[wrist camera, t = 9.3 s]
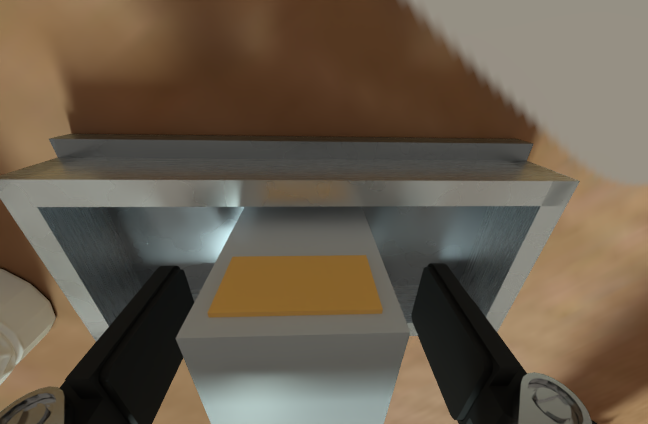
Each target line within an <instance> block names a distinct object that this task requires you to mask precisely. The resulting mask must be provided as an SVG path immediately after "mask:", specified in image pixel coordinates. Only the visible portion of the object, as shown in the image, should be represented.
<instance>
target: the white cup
mask: <svg viewBox="0 0 648 424" xmlns="http://www.w3.org/2000/svg"><path fill="white" fill-rule="evenodd" d="M55 319H56V317H55V314H54V311H53V309H52V306H51V303H50V301H49V300H48V299H47V298H46V297H45V296H44V295H42V294H41V293H40V292H39V291H38V290H37V289H36V288H35V287H34V286H33V285H32V284H30V283H28V282H27V281H25V280H23V279H21V278H19V277H17V276H15V275H13V274H11V273H9V272H7V271H5V270H3V269H1V268H0V385H1V384H2V383H3V382H4V380H5V379H6V378H7V377H8V376H9V375H10V373H11V372H12V371H13V369H14V368H15V365H17V364H18V363H19V362H20V361H21V360H22V359H23V358H24V357H25V356H26V355H27V354H28V353H29V352H30V351H31V350H32V349H33V348H34V347H35V346H36V345H37V344H38V343H39V342H40V341H41V340H42V339H43V338H44V337H45V335H46V334H47V333H48V332H49V331H50V329H51V327H52V325H53V323H54V321H55Z"/></svg>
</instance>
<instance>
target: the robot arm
mask: <svg viewBox="0 0 648 424" xmlns="http://www.w3.org/2000/svg"><path fill="white" fill-rule="evenodd" d="M193 304H194V300H193V297H192V294H191V290H190V287H189V284H188V281H187V278H186V275H185V272H184V270H182V269H180V267H179V266H160V267H158V268H157V270H156V271H155V272H154V273H153V274H152V276H151V277H150V278H149V279H148V280H147V282H146V283H145V284H144V285H143V286H142V288H141V289H140V290H139V291H138V292H137V294H136V295H135V296H134V297H133V298H132V300H131V301H130V302H129V303H128V304H127V306H126V307H125V308H124V309H123V310H122V312H121V313H120V314H119V315H118V316H117V318H116V319H115V320H114V321H113V322H112V324H111V325H110V326H109V327H108V328H107V330H106V331H105V332H104V333H103V334H102V336H101V337H100V338H99V339H98V340H97V342H96V343H95V344H94V345H93V346H92V348H91V349H90V350H89V351H88V352H87V354H86V355H85V356H84V357H83V358H82V360H81V361H80V362H79V363H78V364H77V366H76V367H75V368H74V369H73V370H72V372H71V373H70V374H69V375H68V376H67V378H66V379H65V380H66V381H65V382H64V383H63V384H62V386H61V387H60V388H58V387H45V388H41V389H38V390H35V391H33V392H30V393H28V394H26V395H24V396H23V397H21V398H19V399H18V400H16V401H14V402H13V403H11V404H10V405H9V406H7V407H6V408H5V409H4V410H2V411H1V412H0V424H152V423H153V420H154V418H155V416H156V414H157V412H158V410H159V408H160V406H161V403H162V401H163V399H164V397H165V395H166V393H167V391H168V389H169V387H170V384H171V382H172V380H173V378H174V376H175V374H176V372H177V370H178V367H179V365H180V363H181V361H182V359H183V355H182V353H181V350H180V348H179V346H178V343H177V341H176V339H175V338H176V337H177V335H178V333H179V331H180V329H181V327H182V325H183V323H184V321H185V319H186V317H187V316H188V314H189V312H190V310H191V308H192V306H193ZM411 317H412V322H413V325H414V327H415V330H416V332H417V334H418V337H419V339H420V342H421V344H422V347H423V349H424V352H425V354H426V356H427V359H428V361H429V364H430V366H431V369H432V371H433V374H434V376H435V378H436V381H437V383H438V386H439V388H440V391H441V393H442V395H443V398H444V400H445V403H446V405H447V408H448V410H449V412H450V415H451V416H452V418H453V419H454V420H457V421H458V423H459V424H597V423H595V422H594V421H592V420H591V418H590V415H589V412H588V411H587V409H586V408H585V406H584V405H583V403H582V402H581V401H580V400H579V398H578V397H577V396H576V395H575V394H574V393H573V392H572V391H571V390H569V389H568V388H567V387H566V386H565V385H563V384H562V383H560V382H558V381H557V380H555V379H553V378H551V377H549V376H546V375H544V374H539V373H528V374H527V373H526V372H525V370H524V369H523V367H522V366H521V365H520V363H519V362H518V361H517V359H516V358H515V357H514V355H513V354H512V352H511V351H510V350H509V348H508V347H507V346H506V344H505V343H504V341H503V340H502V339H501V337H500V336H499V335H498V333H497V332H496V330H495V329H494V328H493V326H492V325H491V324H490V322H489V321H488V319H487V318H486V317H485V315H484V314H483V313H482V311H481V310H480V309H479V307H478V306H477V304H476V303H475V302H474V301H473V300H472V299H471V297H470V296H469V295H468V293H467V292H466V291H465V289H464V288H463V286H462V285H461V284H460V282H459V281H458V280H457V278H456V277H455V275H454V274H453V273H452V271H451V270H450V268H449V267H448V266H447V265H446V264H445V263H430V264H428V266H427V267H425V268H424V269H423V272H422V276H421V280H420V284H419V287H418V291H417V295H416V298H415V302H414V306H413V309H412V314H411Z"/></svg>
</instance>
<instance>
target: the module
mask: <svg viewBox="0 0 648 424" xmlns="http://www.w3.org/2000/svg"><path fill="white" fill-rule="evenodd" d="M409 335H410V330H409V328H408V325H407V323H406V320H405V318H404V315H403V312H402V310H401V307H400V305H399V302H398V299H397V297H396V294H395V292H394V289H393V287H392V284H391V281H390V279H389V276H388V274H387V271H386V269H385V266H384V263H383V261H382V258H381V256H380V253H379V250H378V248H377V245H376V243H375V240H374V238H373V235H372V232H371V230H370V227H369V225H368V222H367V220H366V217H365V214H364V212H363V209H362V207H361V206H314V207H244V209H243V211H242V213H241V214H240V216H239V218H238V220H237V222H236V224H235V226H234V228H233V230H232V232H231V234H230V235H229V237H228V239H227V241H226V243H225V245H224V247H223V249H222V251H221V253H220V255H219V256H218V258H217V260H216V262H215V264H214V266H213V268H212V270H211V272H210V274H209V276H208V277H207V279H206V281H205V283H204V285H203V287H202V289H201V291H200V293H199V295H198V297H197V298H196V300H195V302H194V304H193V306H192V308H191V310H190V312H189V314H188V316H187V317H186V319H185V321H184V323H183V325H182V327H181V329H180V331H179V333H178V335H177V337H176V338H175V339H176V341H177V343H178V346H179V348H180V350H181V353H182V355H183V358H184V360H185V362H186V365H187V367H188V370H189V372H190V374H191V377H192V379H193V381H194V384H195V386H196V389H197V391H198V393H199V396H200V398H201V401H202V403H203V405H204V408H205V410H206V412H207V415H208V417H209V420H210V422H211V424H384V421H385V417H386V414H387V410H388V407H389V404H390V400H391V397H392V393H393V390H394V386H395V383H396V380H397V376H398V373H399V369H400V366H401V362H402V359H403V356H404V352H405V349H406V345H407V342H408V338H409Z"/></svg>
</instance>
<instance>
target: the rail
mask: <svg viewBox="0 0 648 424" xmlns="http://www.w3.org/2000/svg"><path fill="white" fill-rule="evenodd" d="M49 140H50V142H51V144H52V146H53V148H54V150H55V152H56V154H57V156H58V158H55V159H52V160H48V161H45V162H42V163H39V164H36V165H32V166H29V167H26V168H23V169H20V170H16V171H13V172H10V173H7V174H4V175H0V199H1V200H2V202H3V203H4V205H5V206H6V208H7V209H8V211H9V212H10V214H11V215H12V217H13V218H14V220H15V221H16V223H17V224H18V226H19V227H20V229H21V230H22V232H23V233H24V235H25V236H26V238H27V239H28V241H29V242H30V244H31V245H32V247H33V248H34V250H35V251H36V253H37V254H38V256H39V257H40V259H41V260H42V262H43V263H44V265H45V266H46V267H47V269H48V270H49V272H50V273H51V275H52V276H53V278H54V279H55V281H56V282H57V284H58V285H59V287H60V288H61V290H62V291H63V293H64V294H65V296H66V297H67V299H68V300H69V302H70V303H71V305H72V306H73V308H74V309H75V311H76V312H77V314H78V315H79V317H80V318H81V320H82V321H83V323H84V324H85V326H86V327H87V329H88V330H89V332H90V333H91V335H92V336H93V338H94V339H95V341H96V342H97V340H98V339H99V338H100V337H101V336H102V334H103V333H104V332H105V331H106V330H107V328H108V327H109V326H110V325H111V324H112V322H113V321H114V320H115V319H116V318H117V316H118V315H119V314H120V313H121V312H122V310H123V309H124V308H125V307H126V306H127V304H128V303H129V302H130V301H131V300H132V298H133V297H134V296H135V295H136V294H137V292H138V291H139V290H140V289H141V288H142V286H143V285H144V284H145V283H146V282H147V280H148V279H149V278H150V277H151V276H152V274H153V273H154V272H155V271H156V270H157V268H158V267H160V266H179V267H180V269H182V270H184V272H185V275H186V278H187V281H188V284H189V287H190V290H191V294H192V297H193V300H194V302H195V300H196V298H197V297H198V295H199V293H200V291H201V289H202V287H203V285H204V283H205V281H206V279H207V277H208V276H209V274H210V272H211V270H212V268H213V266H214V264H215V262H216V260H217V258H218V256H219V255H220V253H221V251H222V249H223V247H224V245H225V243H226V241H227V239H228V237H229V235H230V234H231V232H232V230H233V228H234V226H235V224H236V222H237V220H238V218H239V216H240V214H241V213H242V211H243V209H244V207H314V206H361V207H362V209H363V212H364V214H365V217H366V220H367V222H368V225H369V227H370V230H371V232H372V235H373V238H374V240H375V243H376V245H377V248H378V250H379V253H380V256H381V258H382V261H383V263H384V266H385V269H386V271H387V274H388V276H389V279H390V281H391V284H392V287H393V289H394V292H395V294H396V297H397V299H398V302H399V305H400V307H401V310H402V312H403V315H404V318H405V320H406V323H407V325H408V328H409V330H410V335H409V336H418V334H417V332H416V330H415V327H414V325H413V322H412V317H411V314H412V309H413V306H414V302H415V298H416V295H417V291H418V287H419V284H420V280H421V276H422V272H423V269H424V268H425V267H427V266H428V264H430V263H445V264H446V265H447V266H448V267H449V268H450V270H451V271H452V273H453V274H454V275H455V277H456V278H457V280H458V281H459V282H460V284H461V285H462V286H463V288H464V289H465V291H466V292H467V293H468V295H469V296H470V297H471V299H472V300H473V301H474V302H475V303H476V304H477V306H478V307H479V309H480V310H481V311H482V313H483V314H484V315H485V317H486V318H487V319H488V321H489V322H490V324H491V325H492V326H493V328H494V329H495V330H496V332H497V331H498V329H499V328H500V326H501V324H502V322H503V320H504V318H505V317H506V315H507V313H508V311H509V309H510V307H511V306H512V304H513V302H514V300H515V298H516V297H517V295H518V293H519V291H520V289H521V287H522V286H523V284H524V282H525V280H526V278H527V276H528V275H529V273H530V271H531V269H532V267H533V266H534V264H535V262H536V260H537V258H538V256H539V255H540V253H541V251H542V249H543V247H544V245H545V244H546V242H547V240H548V238H549V236H550V235H551V233H552V231H553V229H554V227H555V225H556V224H557V222H558V220H559V218H560V216H561V214H562V213H563V211H564V209H565V207H566V205H567V203H568V202H569V200H570V198H571V196H572V194H573V193H574V191H575V189H576V187H577V185H578V183H579V182H580V181H578V180H575V179H573V178H570V177H568V176H565V175H562V174H560V173H557V172H555V171H552V170H549V169H547V168H544V167H542V166H539V165H536V164H534V163H531V162H528V161H527V158H528V156H529V153H530V151H531V149H532V146H533V144H532V143H529V142H526V141H522V140H519V139H484V138H396V137H308V136H219V135H131V134H68V135H63V136H59V137H54V138H50V139H49Z"/></svg>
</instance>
